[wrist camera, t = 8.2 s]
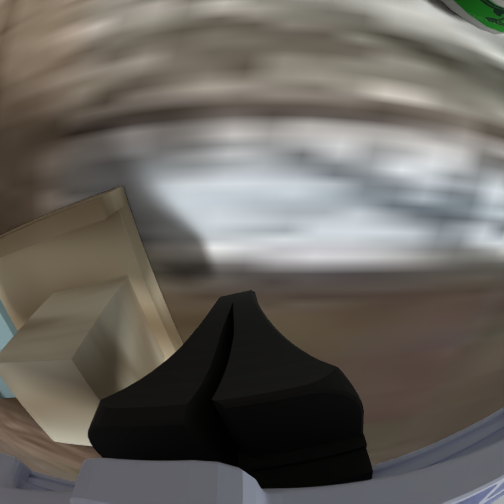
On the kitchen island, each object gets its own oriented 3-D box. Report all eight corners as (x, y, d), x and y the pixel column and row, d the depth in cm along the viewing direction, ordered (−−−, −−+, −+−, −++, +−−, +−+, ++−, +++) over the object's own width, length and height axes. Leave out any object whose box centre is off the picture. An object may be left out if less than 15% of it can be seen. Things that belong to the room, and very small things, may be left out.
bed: (203, 386, 17) (199, 419, 14) (75, 394, 17) (62, 420, 15) (122, 185, 12) (97, 198, 10) (-10, 240, 13) (-37, 257, 11)
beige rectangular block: (165, 356, 14) (138, 448, 9) (92, 364, 14) (54, 441, 9) (127, 275, 12) (71, 359, 7) (53, 293, 13) (-9, 362, 8)
